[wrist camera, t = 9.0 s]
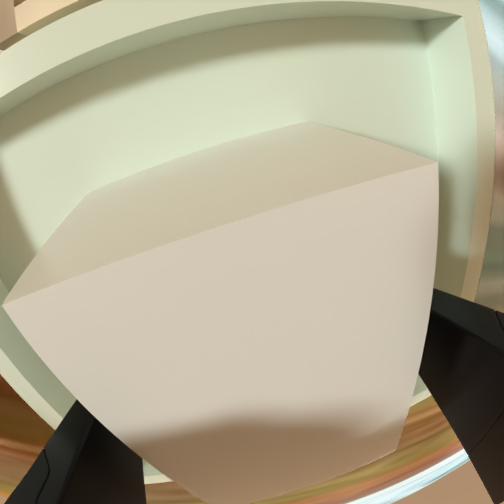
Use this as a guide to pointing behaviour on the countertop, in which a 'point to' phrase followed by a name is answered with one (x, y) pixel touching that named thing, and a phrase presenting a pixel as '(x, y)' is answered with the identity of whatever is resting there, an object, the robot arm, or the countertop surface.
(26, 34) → the bay
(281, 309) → the beige rectangular block
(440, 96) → the tray
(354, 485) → the countertop surface
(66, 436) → the robot arm
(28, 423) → the countertop surface
